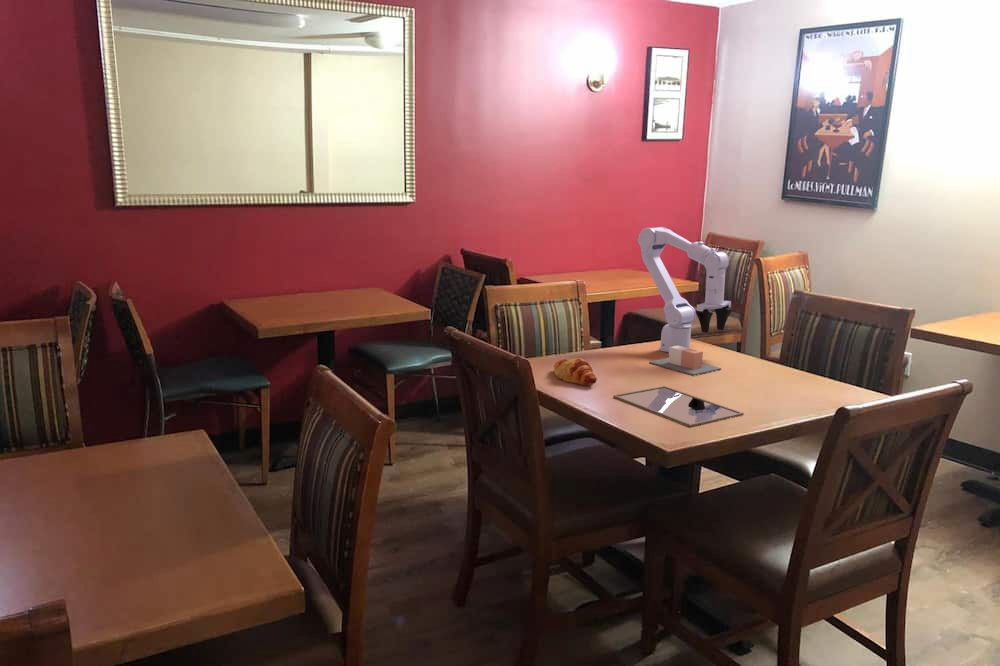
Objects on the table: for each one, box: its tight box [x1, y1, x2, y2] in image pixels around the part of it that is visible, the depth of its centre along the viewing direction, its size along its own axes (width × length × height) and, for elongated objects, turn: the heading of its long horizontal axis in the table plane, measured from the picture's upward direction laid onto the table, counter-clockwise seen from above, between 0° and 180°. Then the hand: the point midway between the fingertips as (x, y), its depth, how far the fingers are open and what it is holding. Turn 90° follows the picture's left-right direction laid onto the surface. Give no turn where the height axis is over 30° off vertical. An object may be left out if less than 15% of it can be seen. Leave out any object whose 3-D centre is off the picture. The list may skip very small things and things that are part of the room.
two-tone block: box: [668, 346, 704, 369], centre depth 244 cm, size 4×10×5 cm, turn 38°
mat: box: [648, 357, 722, 376], centre depth 245 cm, size 18×13×1 cm
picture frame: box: [612, 385, 744, 428], centre depth 204 cm, size 19×1×28 cm
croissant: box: [553, 357, 598, 386], centre depth 227 cm, size 21×10×8 cm, turn 28°
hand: (712, 331), depth 253 cm, fingers open, 7 cm apart
